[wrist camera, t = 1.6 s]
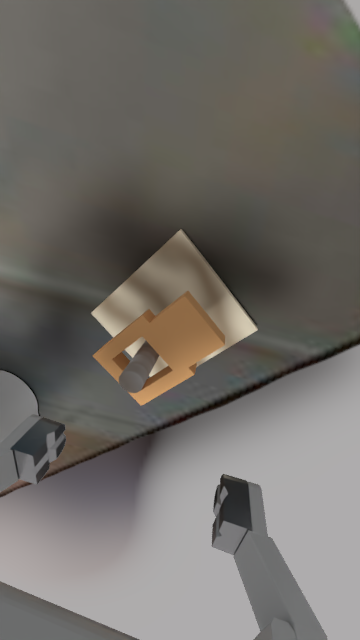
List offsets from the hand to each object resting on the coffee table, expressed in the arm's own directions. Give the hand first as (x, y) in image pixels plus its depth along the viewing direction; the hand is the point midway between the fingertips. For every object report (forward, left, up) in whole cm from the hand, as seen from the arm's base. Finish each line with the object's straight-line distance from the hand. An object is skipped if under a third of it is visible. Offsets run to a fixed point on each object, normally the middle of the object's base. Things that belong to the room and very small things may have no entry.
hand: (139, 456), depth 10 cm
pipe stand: (-6, 0, -27) cm, 27 cm away
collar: (-4, 0, -14) cm, 15 cm away
